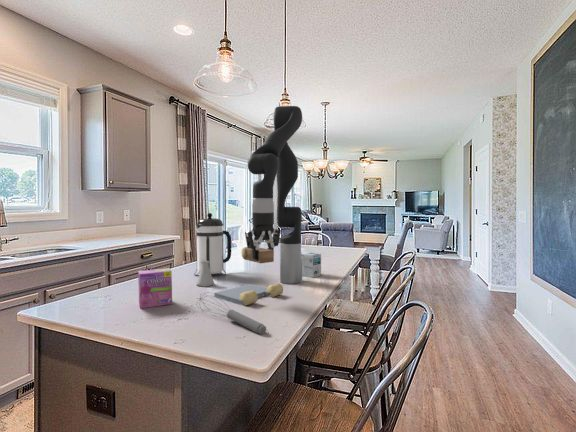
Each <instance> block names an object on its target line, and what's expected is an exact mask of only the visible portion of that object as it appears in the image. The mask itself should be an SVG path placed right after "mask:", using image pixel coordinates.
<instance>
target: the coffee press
mask: <svg viewBox="0 0 576 432" xmlns="http://www.w3.org/2000/svg"><path fill="white" fill-rule="evenodd" d="M195 226H196V227H195V231H196V270H195V272H194V276H195V277H196V276H198V275H200V273H201V269H202V263H201V262H202V261H209V270H210V273H211V275H217V274H221V275H223V276H226V273H227V272H226V271H225V268H224V264H225V263H227V262H229V261H230V259H231V256H232V237H231V234H230V232H229V231H227V230H223V229H224V223H223V220H222V219H219V218H214V217H213V214H212V213H211V212H208V213H207V215H206V218H200V219H198V220H197V222H196V224H195ZM224 235H225V236H226V240H227V243H226V244H227V248H226V249H227V251H226V253H227V255H226V256H225V258H224ZM223 272H224V273H223ZM196 273H197V274H196Z"/></svg>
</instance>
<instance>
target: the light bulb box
mask: <svg viewBox="0 0 576 432" xmlns="http://www.w3.org/2000/svg"><path fill="white" fill-rule="evenodd" d="M301 259H302V277H307V276H308V277H309V278H317V277H320V275H321V276H322V254H321V253H318V252H317V253H316V252H309V251H301Z"/></svg>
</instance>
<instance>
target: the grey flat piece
mask: <svg viewBox="0 0 576 432" xmlns="http://www.w3.org/2000/svg"><path fill="white" fill-rule="evenodd" d="M283 293H284V285H282V283H281V282H278V283H274V284H270V285H268V286H266V287H264V286H260V285H256V284H253V283H248V284H244V285H241V286H236V287H232V288H228V289H225V290H221V291H217V292H214V293H213V296H215V297H214V298H216V297H217V296H218V297H219V298H220V299H221V300H222V301H223V300H224V301H227V302H230V303H235V304H237V305H241V306H249V305H252V304H255V303H257V302H258V301H259V300H258V298H261V297H268V298H269V297H270V298H275V297H278V296H281V295H283ZM214 294H215V295H214ZM218 297H217V298H216V299H218ZM220 299H219V300H220Z"/></svg>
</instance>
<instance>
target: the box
mask: <svg viewBox="0 0 576 432" xmlns="http://www.w3.org/2000/svg"><path fill="white" fill-rule="evenodd" d="M137 272H138V273H137V274H138V276H137V277H138V278H137V279H138V305H139V309H145V308H153V307H159V306H160V307H161V306H166V305H172V304H173V277H172V276H173V275H172V270H171V269H170V267H168V268H158V269H157V268H156V269H147V270H138V271H137Z"/></svg>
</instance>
